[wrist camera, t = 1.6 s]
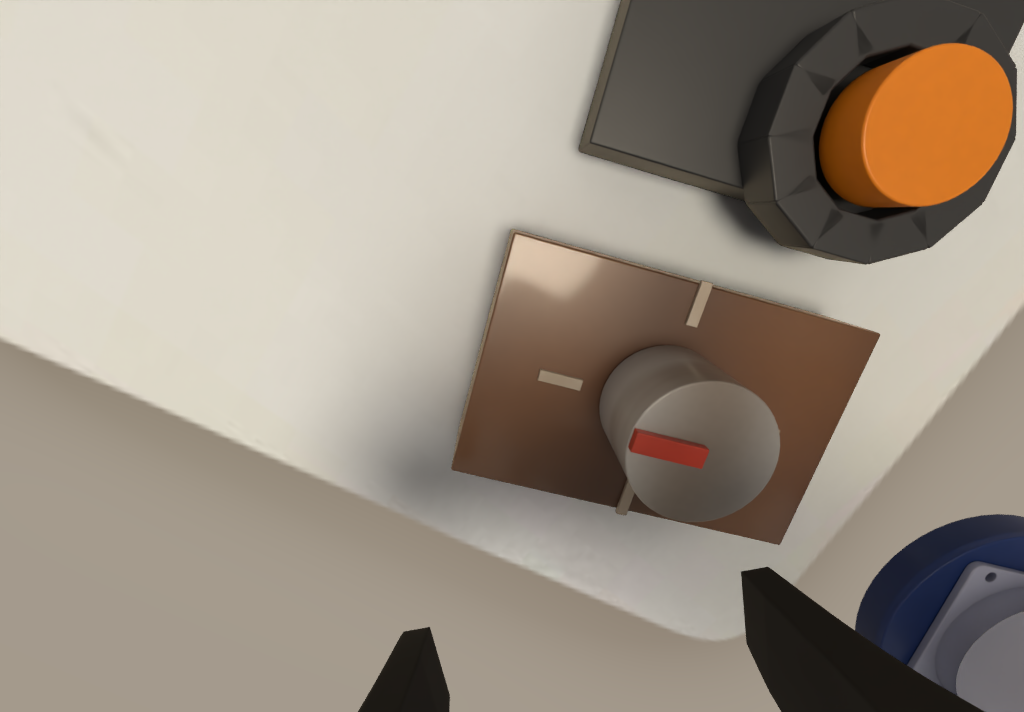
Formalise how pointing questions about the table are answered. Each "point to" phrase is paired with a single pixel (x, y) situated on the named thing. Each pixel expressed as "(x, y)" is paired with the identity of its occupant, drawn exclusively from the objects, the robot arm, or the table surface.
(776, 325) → the dimmer panel
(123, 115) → the table surface
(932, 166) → the switch button
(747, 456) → the dial
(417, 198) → the table surface
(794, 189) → the switch block
